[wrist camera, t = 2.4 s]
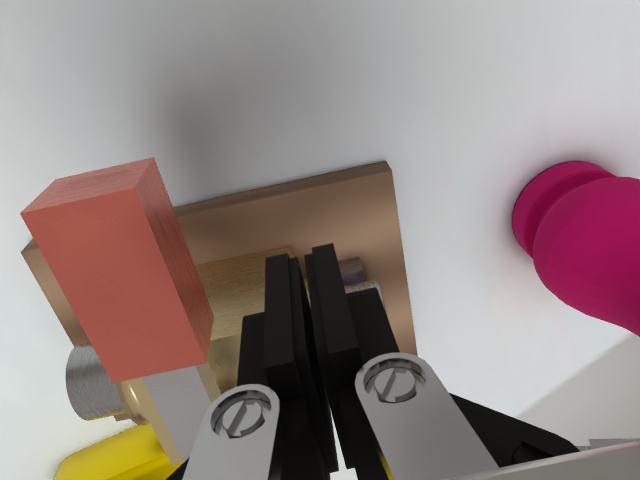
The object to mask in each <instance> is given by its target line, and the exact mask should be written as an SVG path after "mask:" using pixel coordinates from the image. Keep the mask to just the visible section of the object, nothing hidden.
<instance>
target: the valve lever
mask: <svg viewBox="0 0 640 480" xmlns="http://www.w3.org/2000/svg"><path fill="white" fill-rule="evenodd" d="M20 214H21V216H22V218H23V220H24V221H25V223H26V225H27V227H28V229H29V231H30V232H31V234H32V236H33V238H34V240H35V242H36V243H37V245H38V247H39V249H40V251H41V253H42V254H43V256H44V258H45V260H46V262H47V264H48V265H49V267H50V269H51V271H52V273H53V275H54V276H55V278H56V280H57V282H58V284H59V286H60V288H61V289H62V291H63V293H64V295H65V297H66V299H67V300H68V302H69V304H70V306H71V308H72V310H73V311H74V313H75V315H76V317H77V319H78V321H79V322H80V324H81V326H82V328H83V330H84V332H85V333H86V335H87V337H88V339H89V341H90V343H91V344H92V346H93V348H94V350H95V352H96V354H97V355H98V357H99V359H100V361H101V363H102V365H103V366H104V368H105V370H106V372H107V374H108V376H109V377H110V379H111V381H112V383H117V382H122V381H127V380H131V379H136V378H140V377H142V379H143V381H144V383H145V385H146V387H147V389H148V391H149V393H150V395H151V397H152V399H153V401H154V403H155V405H156V407H157V409H158V411H159V413H160V415H161V417H162V419H163V421H164V423H165V425H166V427H167V429H168V431H169V433H170V435H171V437H172V439H173V441H174V443H175V445H176V447H177V449H178V451H179V453H180V455H181V457H182V459H183V463H184V462H185V461H186V460H187V459H188V458H189V457H190V455H191V452H192V450H193V447H194V444H195V441H196V438H197V435H198V432H199V429H200V426H201V423H202V420H203V417H204V415H205V413H206V411H207V409H208V407H209V406H210V405H211V404H212V403H213V402H214V401H215V399H216V398H218V397H219V396H221V393H220V390H219V388H218V385H217V383H216V380H215V378H214V375H213V373H212V370H211V368H210V366H209V363H208V361H207V357H208V351H209V345H210V339H211V333H212V327H213V321H214V315H213V312H212V310H211V307H210V304H209V302H208V299H207V296H206V294H205V291H204V289H203V286H202V283H201V281H200V278H199V275H198V273H197V270H196V267H195V265H194V262H193V260H192V257H191V254H190V252H189V249H188V246H187V244H186V241H185V238H184V236H183V233H182V230H181V228H180V225H179V223H178V220H177V217H176V215H175V212H174V209H173V207H172V204H171V201H170V199H169V196H168V193H167V191H166V188H165V186H164V183H163V180H162V178H161V175H160V172H159V170H158V167H157V164H156V162H155V159H154V158H149V159H145V160H140V161H136V162H132V163H127V164H123V165H118V166H114V167H109V168H105V169H100V170H96V171H91V172H87V173H82V174H78V175H73V176H69V177H65V178H60V179H56V180H55V181H54V182H53V183H52V184H50V185H49V186H48V187H47V188H46V189H45V190H44V191H43V192H42V193H41V194H40V195H39V196H38V197H37V198H36V199H35V200H34V201H33V202H32V203H30V204H29V205H28V206H27V207H26V208H25V209H24V210H23V211H22V212H21V213H20Z"/></svg>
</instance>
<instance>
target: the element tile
mask: <svg viewBox="0 0 640 480" xmlns="http://www.w3.org/2000/svg"><path fill="white" fill-rule="evenodd" d="M182 464H183V463H181V464H176V465H171V463H170V461H169V459H168V457H167V455H166V453H165V451H164V450H163V448H162V446H161V444H160V442H159V440H158V438H157V436H156V434H155V432H154V430H153V429H152V427H151V425H150V424H148V425H137V426H135V427H133V428H130V429H128V430H126V431H124V432H121V433H119V434H117V435H114V436H112V437H110V438H108V439H105V440H103V441H101V442H99V443H96V444H94V445H92V446H90V447H87V448H85V449H83V450H80V451H78V452H76V453H74V454H72V455H70V456H69V457H67V458H66V459H65V460H64V461H63V462H62V463H61V464H60V467H59V469H58V471H57V474H56V476H55V478H54V480H166V479H167V478H168V477H169V476H170V475H171V474H172V473H173V472H174V471H175V470H176V469H177V468H178V467H180V466H181V465H182Z"/></svg>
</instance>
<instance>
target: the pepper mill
mask: <svg viewBox="0 0 640 480" xmlns="http://www.w3.org/2000/svg"><path fill="white" fill-rule="evenodd" d="M512 227H513V232H514V235H515V237H516V239H517V241H518V243H519V244H520V245H521V246H522V247H523V249H524V250H525V251H526V252H527V253H528V254H529V255H530V256H531V257H532V258H533V259H534V265H535V269H536V272H537V274H538V276H539V278H540V279H541V281H542V282H543V284H544V285H545V286H546V288H548V289H549V290H550V291H551V292H552V293H553V294H554V295H556V296H557V297H558V298H559V299H560V300H562V301H563V302H564V303H565V304H567V305H569V306H571V307H573V308H575V309H577V310H579V311H580V312H582V313H584V314H586V315H589V316H592V317H595V318H598V319H601V320H603V321H606V322H609V323H612V324H615V325H618V326H621V327H623V328H626V329H627V330H629V331H631V332H633V333H634V334H636V335H638V336H639V337H640V180H639V179H635V178H631V177H616V176H615V175H613V174H611V173H610V172H608V171H606V170H605V169H603V168H601V167H599V166H598V165H595V164H593V163H589V162H583V161H573V162H566V163H562V164H559V165H557V166H554V167H551V168H550V169H548V170H546V171H544V172H542V173H541V174H539V175H538V176H537V177H536V178H535V179H534V180H532V181H531V182H530V183H529V184H528V185H527V186H526V188H525V189H524V191H523V192H522V194H521V195H520V197H519V198H518V200H517V202H516V205H515V208H514V211H513V217H512Z"/></svg>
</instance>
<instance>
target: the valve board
mask: <svg viewBox="0 0 640 480" xmlns="http://www.w3.org/2000/svg"><path fill="white" fill-rule="evenodd" d="M173 209H174V212H175V215H176V217H177V220H178V223H179V225H180V228H181V230H182V233H183V236H184V238H185V241H186V244H187V246H188V249H189V252H190V254H191V257H192V260H193V262H194V265H199V264H204V263H208V262H213V261H217V260H222V259H226V258H231V257H235V256H240V255H245V254H249V253H254V252H258V251H263V250H267V249H272V248H276V247H281V246H286V245H290V244H292V246H293V249H294V253H295V257H298V260H299V263H300V267H301V271H302V275H303V279H307V274H306V266H305V258H304V255H307V254H312V247H316V246H321V245H325V244H330V243H333V244H334V248H335V252H336V256H337V260H338V261H341V260H345V259H350V258H354V257H359V258H360V261H361V264H362V267H363V271H364V276H365V281H370V280H375V279H376V280H377V282H378V284H379V287H380V290H381V293H382V297H383V301H384V304H385V308H386V312H387V316H388V320H389V323H390V326H391V329H392V331H393V334H394V337H395V340H396V343H397V345H398V348H399V351H400V353H407V354H412V355H415V356H417V348H416V341H415V334H414V327H413V320H412V313H411V305H410V298H409V291H408V284H407V277H406V270H405V262H404V255H403V248H402V241H401V234H400V227H399V219H398V212H397V205H396V198H395V191H394V184H393V176H392V170H391V168H390V167H389V165H388V164H387V162H386V161H382V162H378V163H373V164H369V165H364V166H360V167H355V168H351V169H346V170H342V171H337V172H333V173H328V174H324V175H319V176H315V177H310V178H306V179H301V180H297V181H292V182H288V183H283V184H279V185H274V186H270V187H265V188H261V189H256V190H252V191H247V192H243V193H238V194H234V195H229V196H225V197H220V198H216V199H211V200H207V201H202V202H198V203H193V204H189V205H184V206H180V207H175V208H173ZM21 254H22V256H23V257H24V259H25V261H26V263H27V264H28V266H29V268H30V270H31V271H32V273H33V275H34V277H35V278H36V280H37V282H38V284H39V285H40V287H41V289H42V291H43V292H44V294H45V296H46V298H47V300H48V301H49V303H50V305H51V307H52V308H53V310H54V312H55V314H56V315H57V317H58V319H59V321H60V322H61V324H62V326H63V328H64V329H65V331H66V333H67V335H68V336H69V338H70V340H71V342H72V344H73V345H74V347H75V346H77V345H78V344H81V343H85V342H90V341H89V339H88V337H87V335H86V333H85V332H84V330H83V328H82V326H81V324H80V322H79V321H78V319H77V317H76V315H75V313H74V311H73V310H72V308H71V306H70V304H69V302H68V300H67V299H66V297H65V295H64V293H63V291H62V289H61V288H60V286H59V284H58V282H57V280H56V278H55V276H54V275H53V273H52V271H51V269H50V267H49V265H48V264H47V262H46V260H45V258H44V256H43V254H42V253H41V251H40V249H39V247H38V245H37V243H36V242H35V240H34V239H32V240H31V241H30V243H29V244H28V245H27V246H26V247H25V248H24V249H23V250H22V251H21ZM417 357H418V356H417ZM113 416H114V417H115V419H116V421H120V420H125V419H130V417H129V416H128V414H127V413H122V414H118V415H113Z"/></svg>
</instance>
